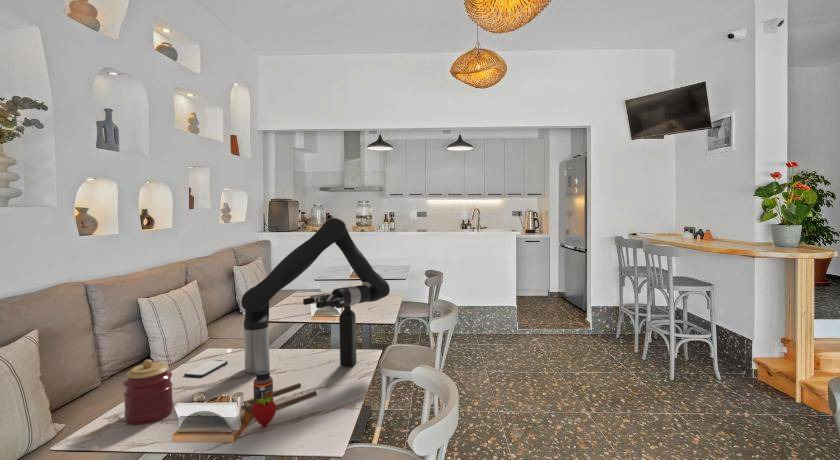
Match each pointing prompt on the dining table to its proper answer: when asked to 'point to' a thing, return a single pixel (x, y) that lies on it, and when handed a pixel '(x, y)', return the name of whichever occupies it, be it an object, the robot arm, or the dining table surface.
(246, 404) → the walnut track
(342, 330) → the wine bottle
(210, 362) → the phone case
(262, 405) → the strawberry
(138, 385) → the canister
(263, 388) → the supplement bottle
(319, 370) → the dining table surface
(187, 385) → the dining table surface
